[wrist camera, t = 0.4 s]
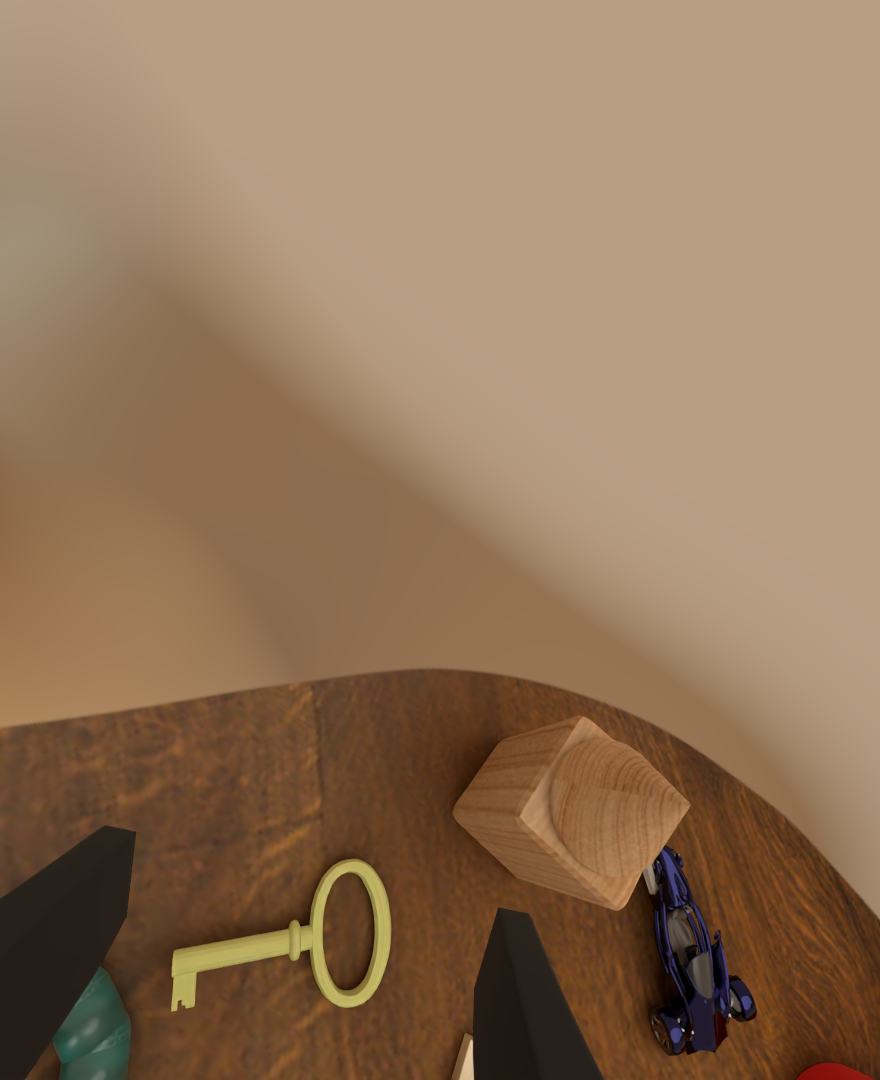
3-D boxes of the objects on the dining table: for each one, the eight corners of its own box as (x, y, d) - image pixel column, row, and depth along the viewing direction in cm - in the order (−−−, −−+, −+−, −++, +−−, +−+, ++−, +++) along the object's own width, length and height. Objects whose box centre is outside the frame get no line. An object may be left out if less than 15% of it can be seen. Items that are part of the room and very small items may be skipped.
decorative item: (571, 799, 40) (788, 794, 22) (521, 883, 37) (727, 956, 19) (501, 735, 41) (658, 683, 23) (446, 813, 38) (578, 821, 20)
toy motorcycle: (741, 1026, 36) (788, 1049, 33) (660, 1064, 34) (701, 1093, 31) (671, 826, 41) (706, 828, 37) (596, 850, 39) (626, 854, 35)
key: (164, 950, 31) (156, 960, 29) (368, 845, 36) (373, 847, 34) (198, 1100, 29) (192, 1121, 27) (411, 967, 33) (418, 976, 32)
